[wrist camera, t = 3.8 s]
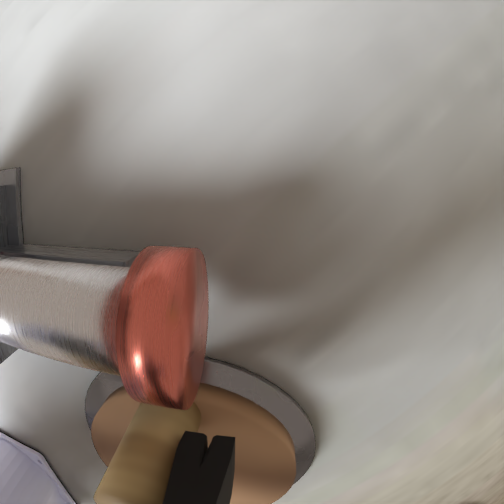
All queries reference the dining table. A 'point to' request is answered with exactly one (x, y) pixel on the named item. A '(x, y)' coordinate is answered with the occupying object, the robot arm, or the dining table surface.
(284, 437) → the handwheel
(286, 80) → the dining table surface
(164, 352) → the copper capped rod
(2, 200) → the eye bracket
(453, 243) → the dining table surface
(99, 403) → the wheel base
